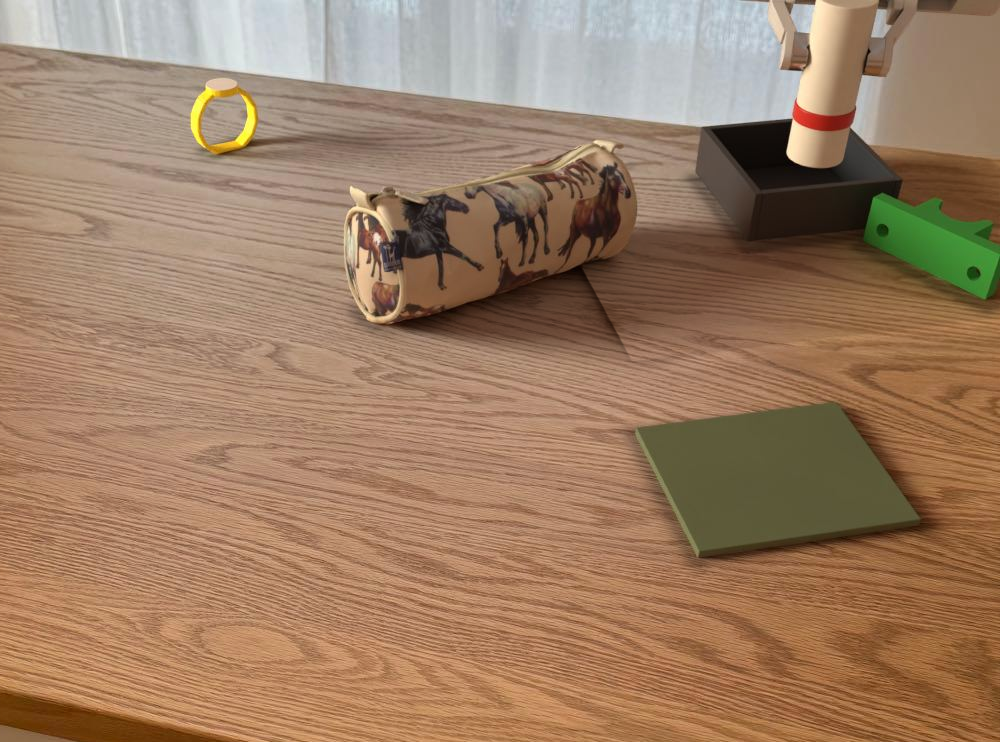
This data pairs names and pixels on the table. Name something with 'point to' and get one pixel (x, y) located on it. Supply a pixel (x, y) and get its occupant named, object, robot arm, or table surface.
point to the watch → (222, 90)
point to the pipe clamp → (936, 242)
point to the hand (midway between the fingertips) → (834, 70)
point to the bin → (789, 182)
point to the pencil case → (486, 233)
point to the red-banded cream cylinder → (830, 81)
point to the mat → (773, 479)
